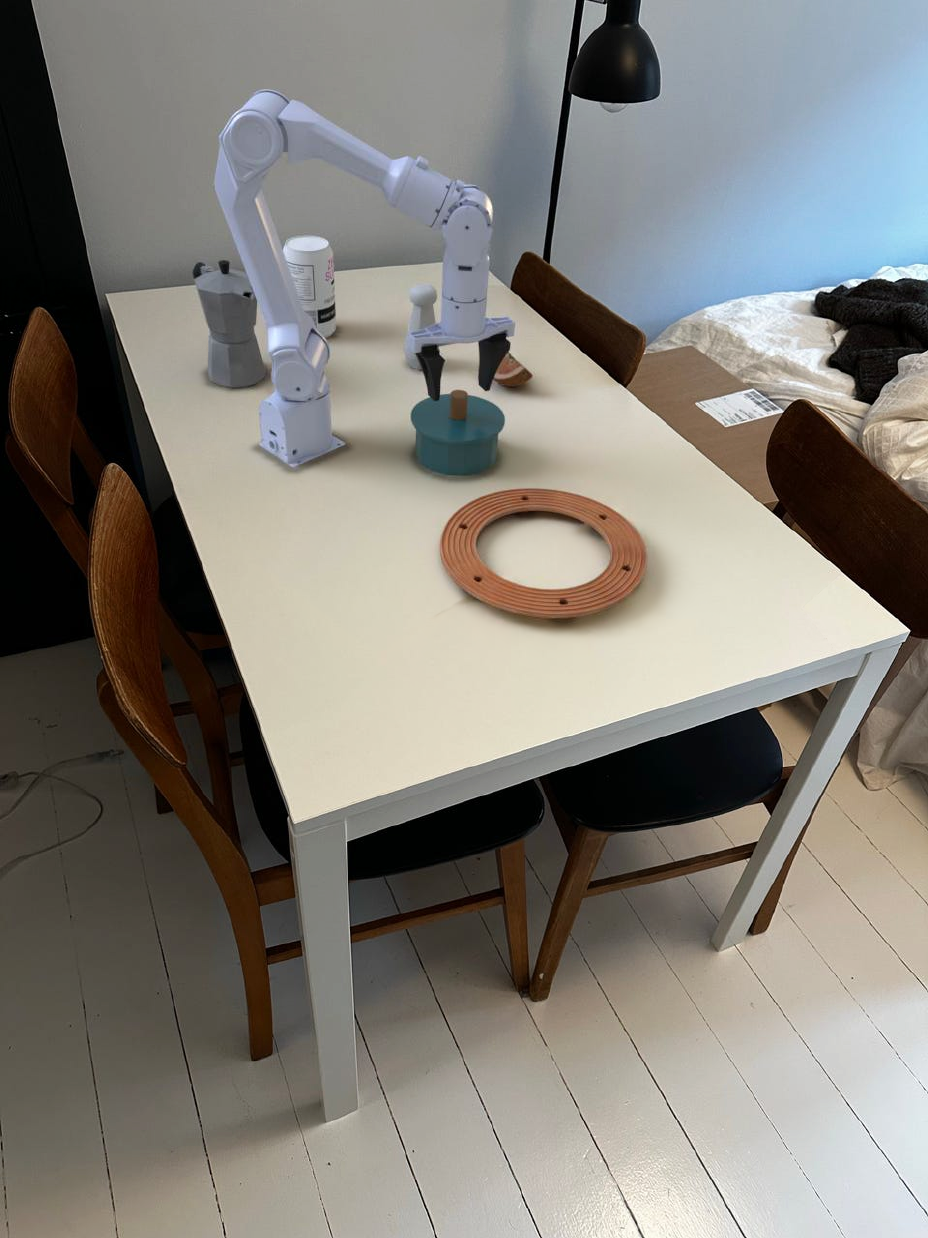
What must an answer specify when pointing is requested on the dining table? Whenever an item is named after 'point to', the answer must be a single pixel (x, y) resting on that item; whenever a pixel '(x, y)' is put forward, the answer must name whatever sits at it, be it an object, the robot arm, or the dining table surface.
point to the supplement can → (313, 279)
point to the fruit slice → (511, 372)
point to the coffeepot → (230, 325)
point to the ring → (535, 602)
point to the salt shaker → (420, 316)
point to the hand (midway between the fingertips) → (459, 392)
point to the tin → (455, 455)
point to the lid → (458, 418)
